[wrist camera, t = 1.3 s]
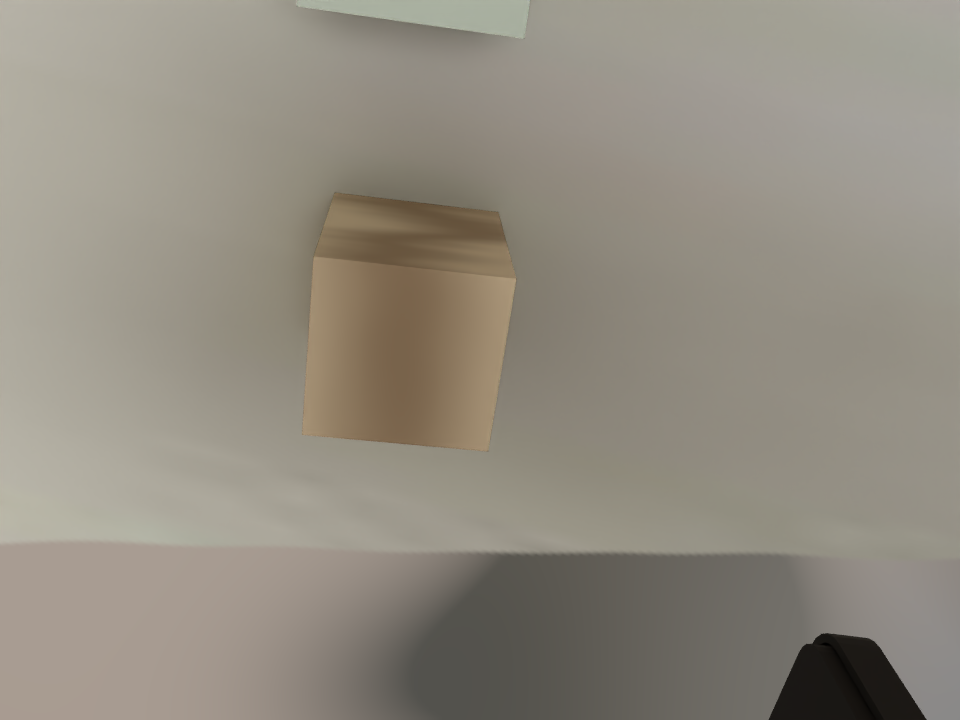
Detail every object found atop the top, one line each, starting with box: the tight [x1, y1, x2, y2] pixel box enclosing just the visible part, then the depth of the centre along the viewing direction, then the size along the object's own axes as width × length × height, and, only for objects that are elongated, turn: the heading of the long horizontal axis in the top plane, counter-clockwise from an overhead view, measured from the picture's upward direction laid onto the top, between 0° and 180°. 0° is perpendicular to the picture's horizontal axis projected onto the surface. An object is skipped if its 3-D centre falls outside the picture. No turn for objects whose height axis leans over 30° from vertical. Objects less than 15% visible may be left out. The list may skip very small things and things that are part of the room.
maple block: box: [302, 193, 516, 451], centre depth 26 cm, size 5×5×6 cm
